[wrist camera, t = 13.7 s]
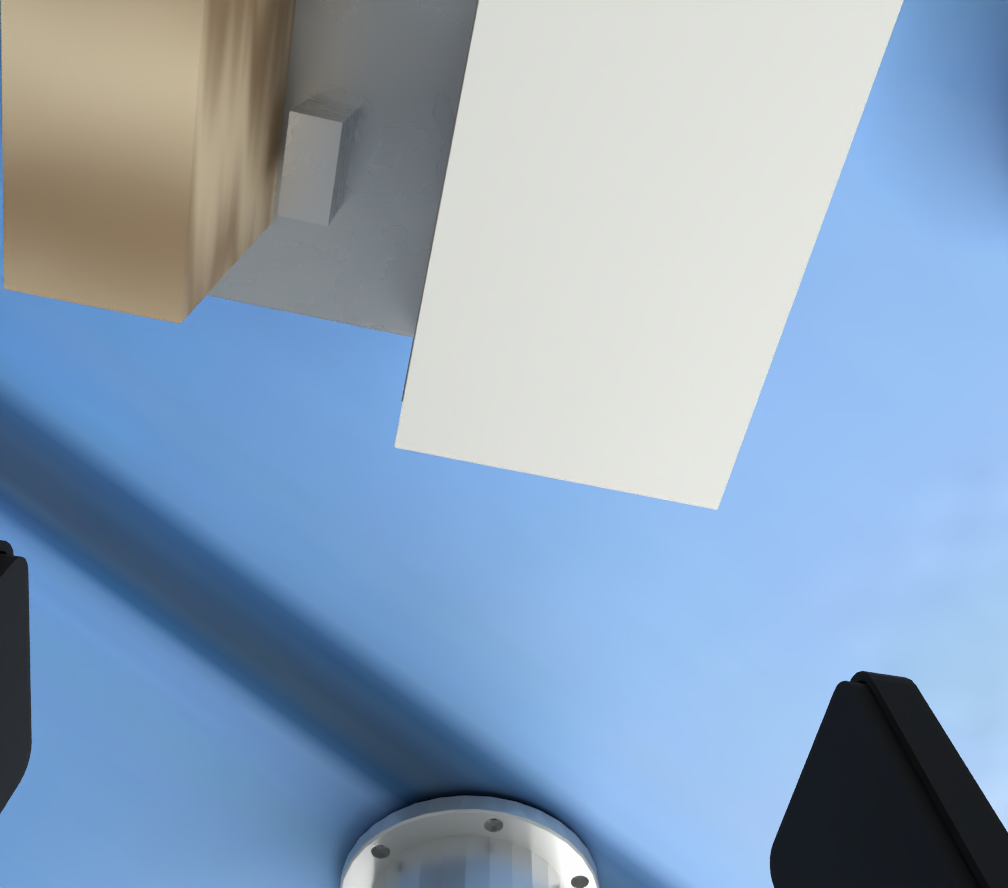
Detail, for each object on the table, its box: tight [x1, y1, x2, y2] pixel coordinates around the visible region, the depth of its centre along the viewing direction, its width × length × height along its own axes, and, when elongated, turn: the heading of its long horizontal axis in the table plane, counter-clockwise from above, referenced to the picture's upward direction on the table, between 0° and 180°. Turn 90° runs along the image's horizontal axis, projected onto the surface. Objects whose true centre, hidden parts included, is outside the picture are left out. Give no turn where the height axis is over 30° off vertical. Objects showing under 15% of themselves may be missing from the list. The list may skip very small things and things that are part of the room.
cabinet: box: [394, 0, 904, 510], centre depth 26 cm, size 20×9×10 cm, turn 168°
